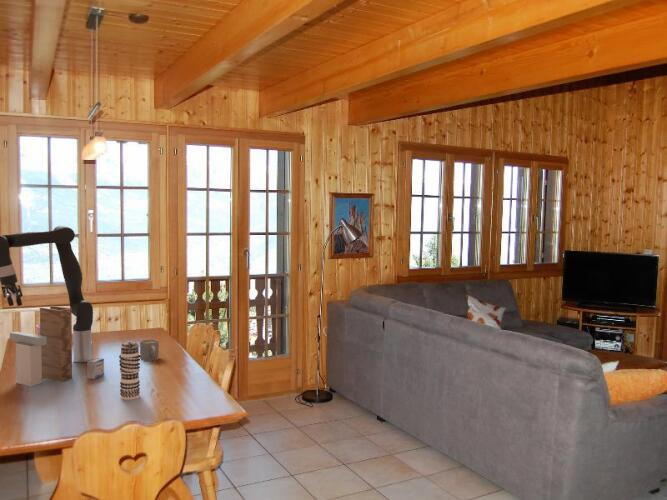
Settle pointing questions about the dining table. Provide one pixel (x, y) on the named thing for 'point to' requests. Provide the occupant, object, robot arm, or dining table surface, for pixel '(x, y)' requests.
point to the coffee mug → (149, 349)
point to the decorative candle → (129, 370)
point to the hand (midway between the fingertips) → (15, 305)
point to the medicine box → (95, 368)
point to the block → (28, 364)
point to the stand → (56, 343)
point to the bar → (28, 338)
